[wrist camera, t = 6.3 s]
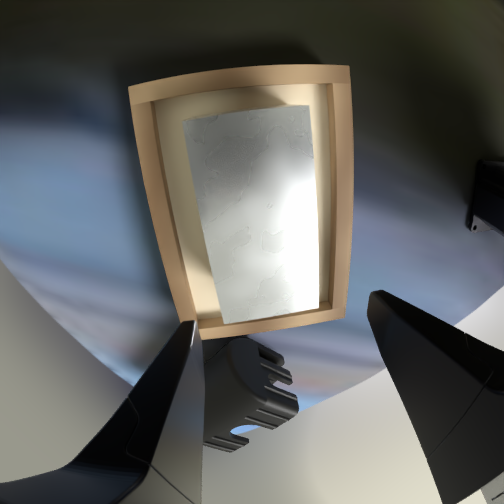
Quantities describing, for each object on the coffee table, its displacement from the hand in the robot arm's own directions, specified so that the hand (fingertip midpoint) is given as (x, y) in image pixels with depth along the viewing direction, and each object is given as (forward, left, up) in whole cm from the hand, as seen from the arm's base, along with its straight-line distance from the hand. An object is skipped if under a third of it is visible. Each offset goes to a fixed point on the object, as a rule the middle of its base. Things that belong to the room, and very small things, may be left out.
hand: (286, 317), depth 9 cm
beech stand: (0, 0, -11) cm, 11 cm away
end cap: (+4, +15, -11) cm, 19 cm away
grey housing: (0, -1, -9) cm, 9 cm away
